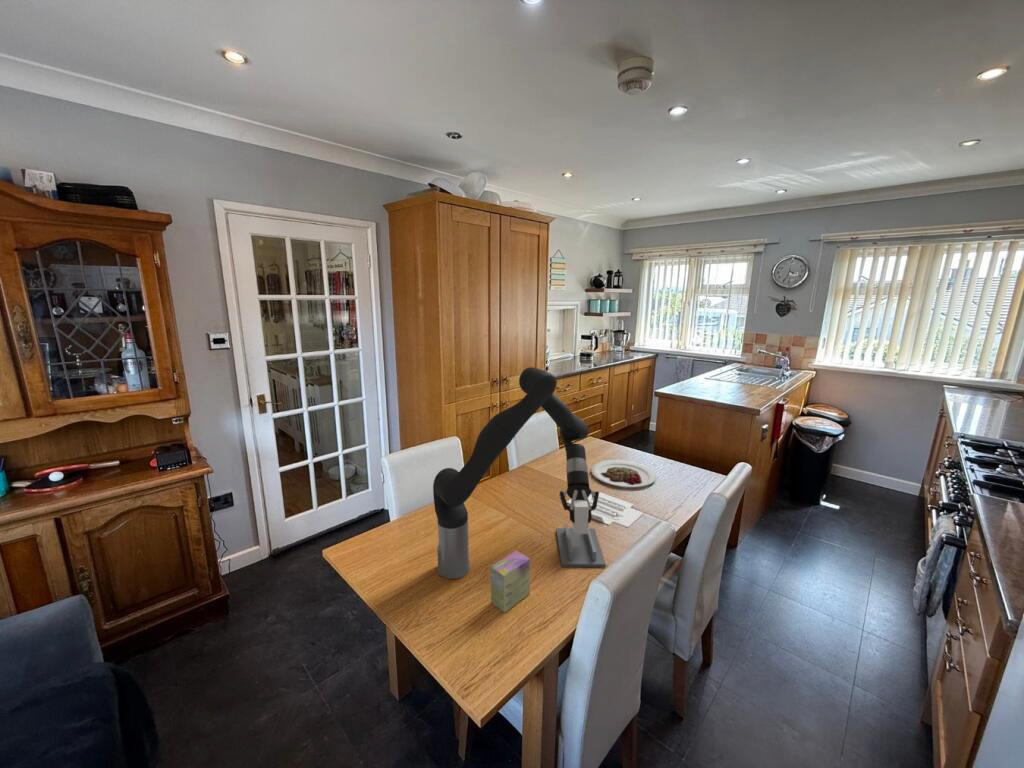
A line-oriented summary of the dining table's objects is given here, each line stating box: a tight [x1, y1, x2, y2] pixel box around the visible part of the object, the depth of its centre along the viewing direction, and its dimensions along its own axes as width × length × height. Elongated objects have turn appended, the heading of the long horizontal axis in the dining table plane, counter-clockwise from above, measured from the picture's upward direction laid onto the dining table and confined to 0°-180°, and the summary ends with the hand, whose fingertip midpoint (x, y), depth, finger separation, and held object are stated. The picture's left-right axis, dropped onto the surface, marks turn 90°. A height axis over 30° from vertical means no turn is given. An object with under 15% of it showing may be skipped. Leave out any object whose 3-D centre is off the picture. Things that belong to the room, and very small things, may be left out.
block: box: [571, 500, 589, 534], centre depth 136 cm, size 4×4×10 cm
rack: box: [555, 523, 607, 568], centre depth 138 cm, size 14×20×4 cm
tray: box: [566, 491, 644, 528], centre depth 164 cm, size 20×28×4 cm
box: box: [490, 550, 531, 613], centre depth 114 cm, size 10×6×12 cm, turn 134°
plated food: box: [590, 459, 657, 489], centre depth 193 cm, size 30×30×3 cm
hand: (581, 522), depth 134 cm, fingers closed on block, 4 cm apart
